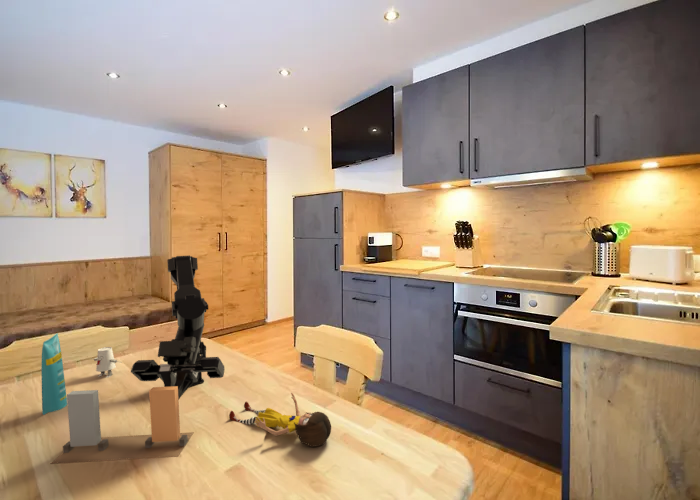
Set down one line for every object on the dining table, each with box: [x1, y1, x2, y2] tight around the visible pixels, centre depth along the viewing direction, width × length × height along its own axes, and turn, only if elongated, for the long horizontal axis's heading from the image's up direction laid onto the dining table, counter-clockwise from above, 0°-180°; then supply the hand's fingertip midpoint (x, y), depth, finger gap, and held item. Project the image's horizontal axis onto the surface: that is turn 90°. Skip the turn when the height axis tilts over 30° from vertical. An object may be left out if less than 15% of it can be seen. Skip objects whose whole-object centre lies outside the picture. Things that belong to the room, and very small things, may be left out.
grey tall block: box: [66, 389, 102, 447], centre depth 70 cm, size 2×5×11 cm, turn 94°
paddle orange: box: [148, 386, 181, 442], centre depth 71 cm, size 2×5×11 cm, turn 94°
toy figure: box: [89, 346, 122, 378], centre depth 109 cm, size 12×6×8 cm, turn 75°
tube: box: [41, 332, 68, 416], centre depth 87 cm, size 7×5×19 cm, turn 26°
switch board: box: [50, 431, 195, 465], centre depth 71 cm, size 8×24×2 cm, turn 94°
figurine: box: [228, 392, 332, 448], centre depth 77 cm, size 13×8×25 cm
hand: (168, 408), depth 72 cm, fingers closed
